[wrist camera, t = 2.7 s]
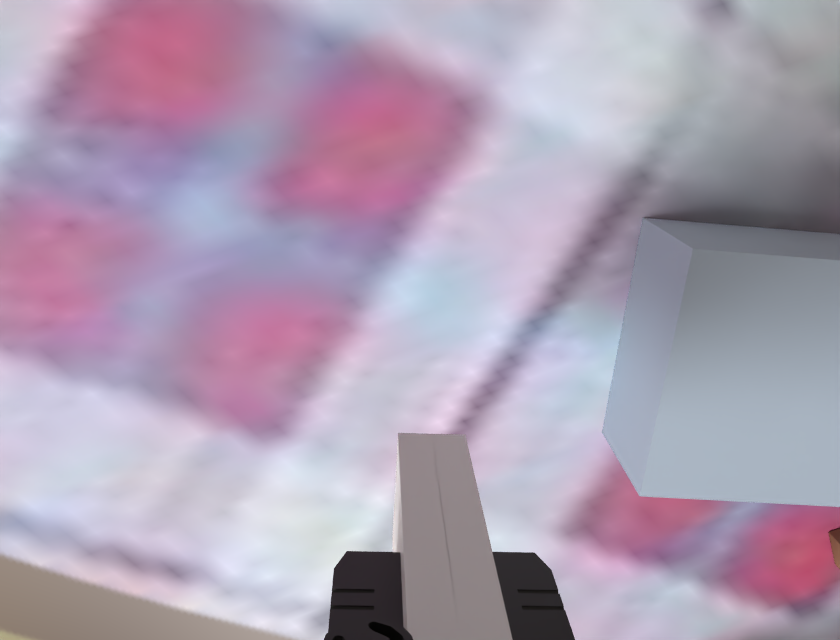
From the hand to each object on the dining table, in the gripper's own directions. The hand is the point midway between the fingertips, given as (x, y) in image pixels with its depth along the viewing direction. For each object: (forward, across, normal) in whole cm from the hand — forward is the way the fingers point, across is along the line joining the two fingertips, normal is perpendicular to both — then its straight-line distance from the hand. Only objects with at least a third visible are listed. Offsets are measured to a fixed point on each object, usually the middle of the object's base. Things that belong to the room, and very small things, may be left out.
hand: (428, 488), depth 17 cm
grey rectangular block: (+10, +11, 0) cm, 15 cm away
